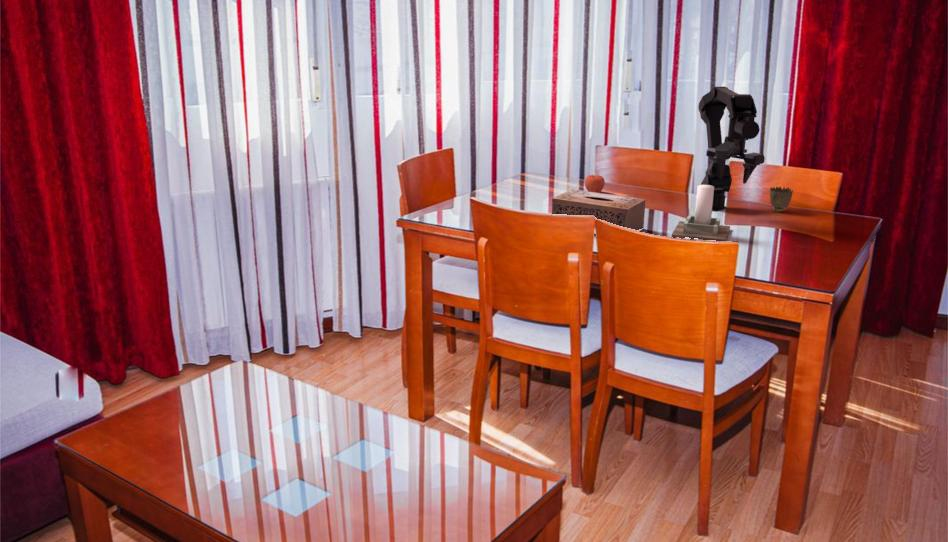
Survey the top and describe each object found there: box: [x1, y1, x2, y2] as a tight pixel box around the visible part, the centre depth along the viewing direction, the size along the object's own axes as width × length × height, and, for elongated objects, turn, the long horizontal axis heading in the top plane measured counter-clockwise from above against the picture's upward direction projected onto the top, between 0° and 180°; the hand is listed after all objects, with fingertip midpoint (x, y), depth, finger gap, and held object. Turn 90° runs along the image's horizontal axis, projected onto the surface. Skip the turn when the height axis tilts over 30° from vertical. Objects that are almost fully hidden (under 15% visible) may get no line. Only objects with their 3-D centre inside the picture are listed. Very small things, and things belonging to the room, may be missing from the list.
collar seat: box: [671, 214, 731, 241], centre depth 264 cm, size 16×16×4 cm
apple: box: [584, 173, 606, 193], centre depth 314 cm, size 7×7×8 cm
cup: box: [769, 186, 794, 213], centre depth 290 cm, size 8×7×8 cm
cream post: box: [694, 184, 714, 225], centre depth 263 cm, size 5×5×14 cm
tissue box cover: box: [551, 188, 646, 230], centre depth 270 cm, size 26×14×10 cm, turn 58°
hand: (732, 181), depth 277 cm, fingers open, 9 cm apart
